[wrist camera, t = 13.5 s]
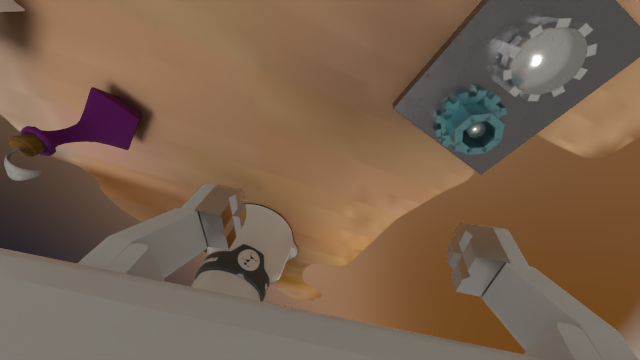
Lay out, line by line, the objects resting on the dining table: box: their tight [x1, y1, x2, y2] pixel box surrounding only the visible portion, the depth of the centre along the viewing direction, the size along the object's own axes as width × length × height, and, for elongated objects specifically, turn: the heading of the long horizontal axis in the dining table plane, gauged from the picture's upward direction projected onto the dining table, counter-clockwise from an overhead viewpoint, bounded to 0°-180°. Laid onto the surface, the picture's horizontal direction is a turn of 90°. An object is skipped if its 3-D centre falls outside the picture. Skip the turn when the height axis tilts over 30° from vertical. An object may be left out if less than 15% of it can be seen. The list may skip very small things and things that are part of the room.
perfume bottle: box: [4, 87, 141, 181], centre depth 37 cm, size 8×8×18 cm
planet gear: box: [433, 87, 507, 155], centre depth 31 cm, size 8×8×5 cm
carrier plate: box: [393, 0, 640, 174], centre depth 30 cm, size 20×16×6 cm
